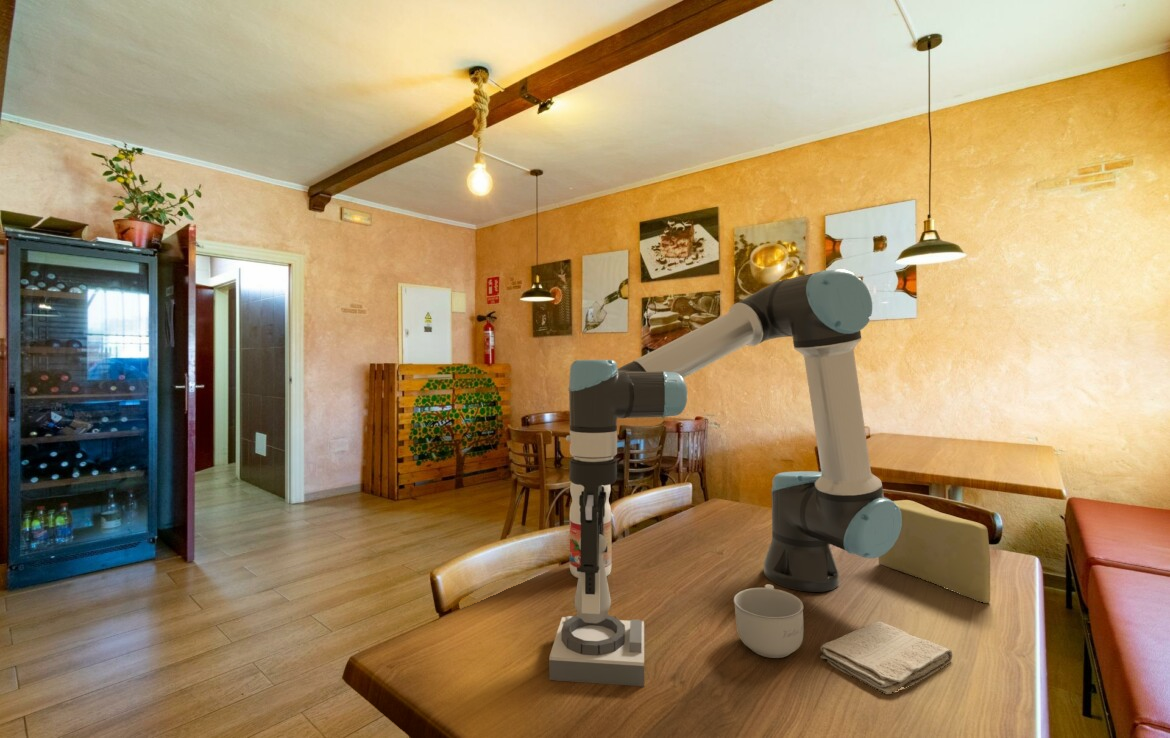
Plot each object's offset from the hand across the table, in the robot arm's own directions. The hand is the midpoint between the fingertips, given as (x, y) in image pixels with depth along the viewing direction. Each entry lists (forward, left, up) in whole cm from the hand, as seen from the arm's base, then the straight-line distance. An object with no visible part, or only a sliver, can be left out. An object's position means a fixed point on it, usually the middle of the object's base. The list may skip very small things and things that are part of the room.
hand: (592, 602), depth 82 cm
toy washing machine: (-1, 0, -9) cm, 9 cm away
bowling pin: (0, 0, -3) cm, 3 cm away
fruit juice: (+4, -34, -9) cm, 36 cm away
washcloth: (-46, -5, -10) cm, 47 cm away
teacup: (-29, -8, -9) cm, 32 cm away
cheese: (-71, -37, -9) cm, 80 cm away
